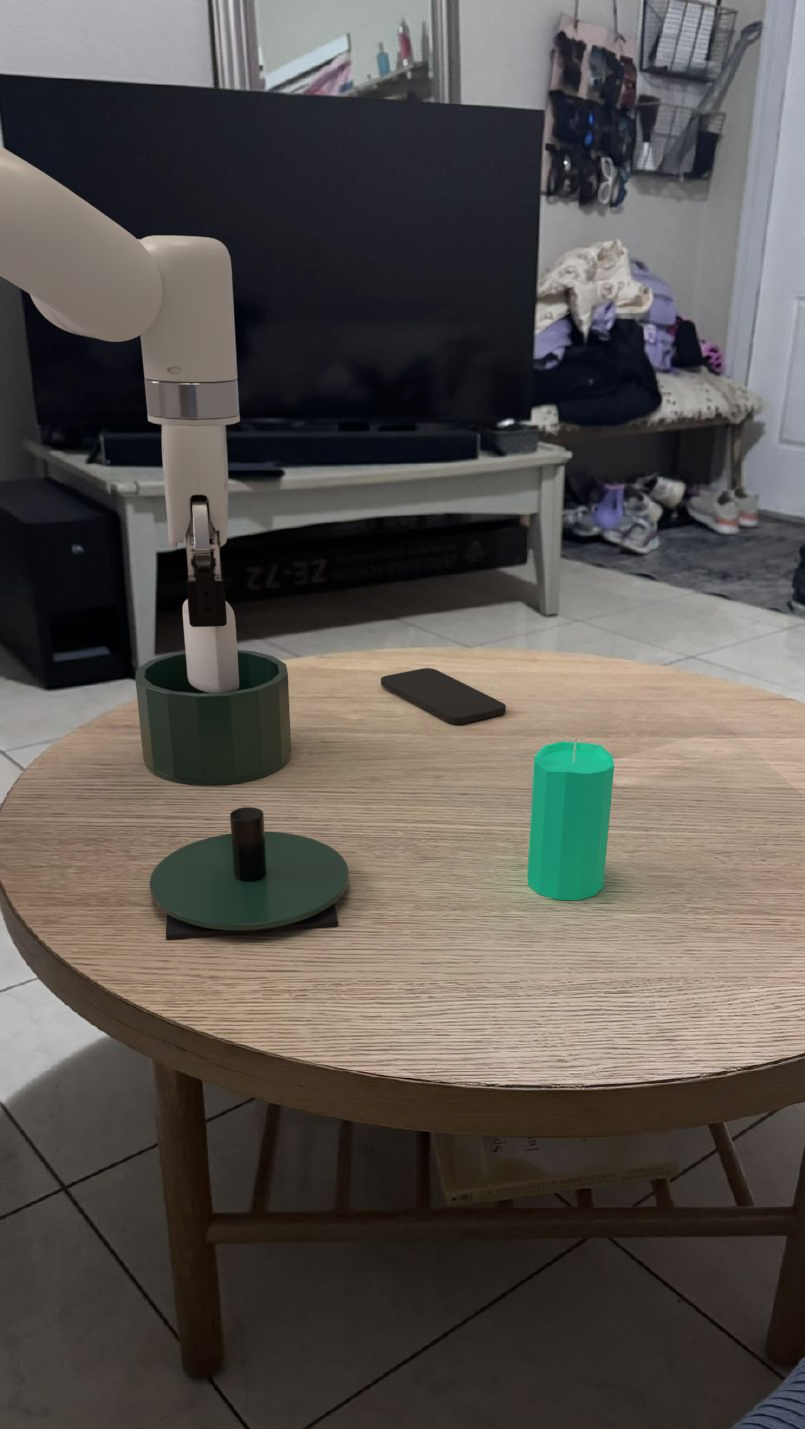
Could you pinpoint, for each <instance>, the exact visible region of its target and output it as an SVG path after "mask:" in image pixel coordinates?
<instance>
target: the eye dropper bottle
mask: <svg viewBox="0 0 805 1429" xmlns="http://www.w3.org/2000/svg"><path fill="white" fill-rule="evenodd" d="M214 573H215V570H214ZM226 616H227V624H226V625H225V626H214V627H192V626H191V625H190V623H189V611H188V598H186V600H184V602H183V603H182V621H183V622H182V623H183V624H182V625H183V636H184V649H185V651H186V663H187V676H188V680H189V683H190V684H191V685H192V686H193V687H195V688H196V689H198V690H201V691H204V692H207V693H226V692H233V691H236V690H238V689H239V671H238V655H237V650H238V642H237V625H236V616H235V611H234V609H233V608H232V606H231V605H230V603H229V602H228V601H227V600H226ZM185 651H184V652H185Z"/></svg>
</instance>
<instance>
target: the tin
mask: <svg viewBox="0 0 805 1429" xmlns="http://www.w3.org/2000/svg"><path fill="white" fill-rule="evenodd" d="M237 655H238V671H239V689H238V690H236V691H233V692H226V693H207V692H204V691H201V690H198V689H196V688H195V687H193V686H192V685H191V684H190V683H189V680H188V676H187V663H186V651H180V652H172V653H168V654H166V655H162V656H160V657H157V658H153V659H150V660H148V661H146V662H145V663H144V664H142V665H141V666H139V667H138V668H137V669H136V671H135V672H136V673H135V677H134V678H135V679H134V680H135V688H136V689H135V690H136V699H137V710H138V719H139V720H138V721H139V726H140V727H139V729H140V738H141V749H142V758H143V762H144V765H145V766H146V768H147V769H148V771H149V772H150V773H152V774H153V775H155V776H156V777H159V778H161V779H163V780H166V781H170V782H174V783H178V784H179V783H180V784H184V785H185V784H186V785H191V786H192V785H193V786H225V785H226V786H227V785H233V784H234V785H235V784H240V783H246V782H251V781H255V780H258V779H262V778H264V777H267V776H270V775H272V774H274V773H276V772H278V771H279V770H281V769H282V768H284V767H285V766H286V765H287V763H288V762H289V761H290V758H291V754H292V743H291V741H292V740H291V717H290V716H291V715H290V692H289V691H290V690H289V672H288V666H287V664H286V663H285V662H284V661H281V660H280V659H279V658H277V657H275V656H273V655H270V654H267V653H262V652H259V651H254V650H244V649H237Z"/></svg>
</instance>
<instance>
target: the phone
mask: <svg viewBox="0 0 805 1429" xmlns="http://www.w3.org/2000/svg"><path fill="white" fill-rule="evenodd" d="M380 685H381V687H383V688H385V689H387V690H389V691H391V692H392V693H394V694H396V695H398V696H399V697H402V698H403V699H405V700H407V701H409V702H411V703H412V704H415V705H416V706H417V707H420V708H421V709H423V710H425V711H427V712H428V713H431V714H432V715H434V716H436V717H437V718H439V719H442V720H444V721H445V722H447V723H450V724H454V725H460V724H466V723H471V722H476V721H479V720H484V719H488V718H493V717H497V716H501V715H504V714H505V713H506V711H507V705H506V704H505V703H504V702H502V701H500V700H498V699H496V698H494V697H492V696H490V695H488V694H486V693H484V692H482V691H479V690H478V689H476V688H474V687H472V686H470V685H468V684H466V683H465V682H462V681H460V680H458V679H456V678H454V677H452V676H450V675H448V674H446V673H444V672H442V671H439V670H438V669H435V668H430V667H423V668H418V669H412V670H408V671H403V672H402V671H401V672H398V673H393V674H389V675H384V676H382V677H381V678H380Z"/></svg>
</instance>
